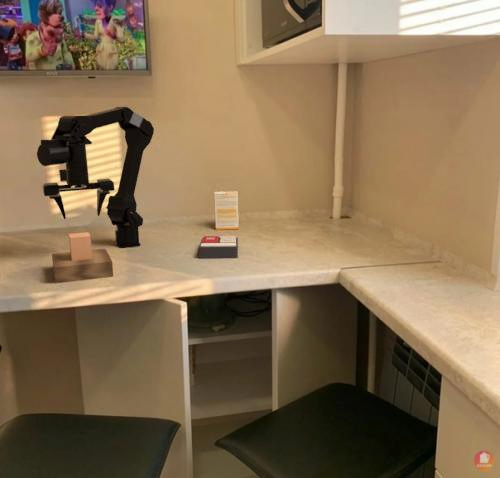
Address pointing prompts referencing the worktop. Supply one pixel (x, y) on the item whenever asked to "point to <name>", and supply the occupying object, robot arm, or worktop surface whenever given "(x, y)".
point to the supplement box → (226, 210)
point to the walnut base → (82, 266)
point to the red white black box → (218, 247)
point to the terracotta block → (80, 246)
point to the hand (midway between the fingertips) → (81, 217)
